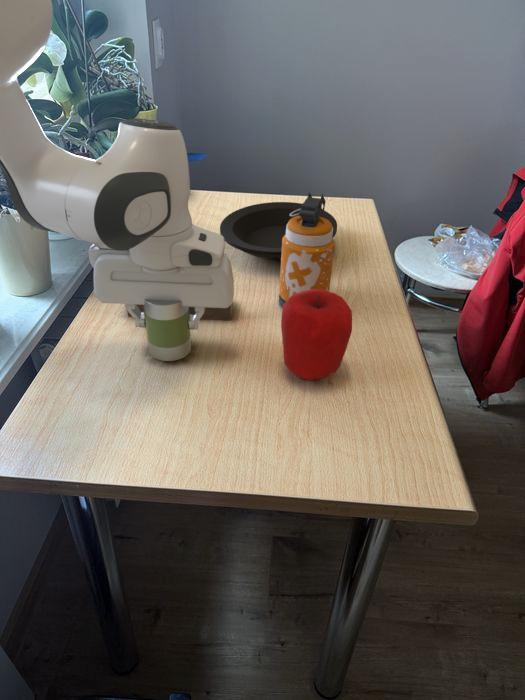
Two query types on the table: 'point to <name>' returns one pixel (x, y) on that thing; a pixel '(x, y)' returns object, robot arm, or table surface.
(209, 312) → the brown wooden block
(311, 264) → the canister
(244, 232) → the plate
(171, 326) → the can
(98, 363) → the table surface
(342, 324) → the apple
